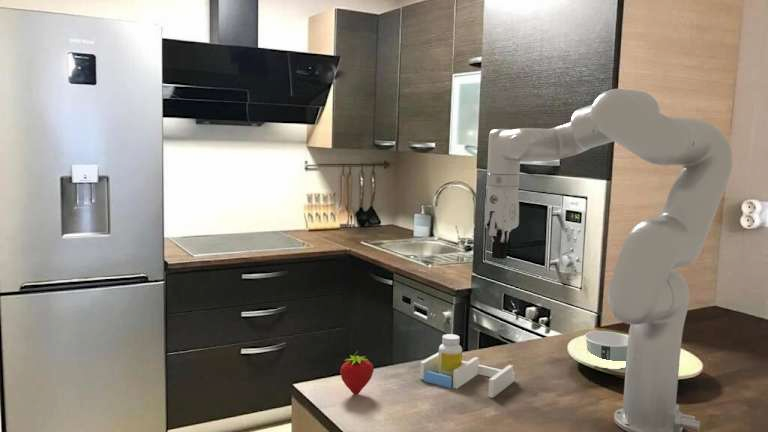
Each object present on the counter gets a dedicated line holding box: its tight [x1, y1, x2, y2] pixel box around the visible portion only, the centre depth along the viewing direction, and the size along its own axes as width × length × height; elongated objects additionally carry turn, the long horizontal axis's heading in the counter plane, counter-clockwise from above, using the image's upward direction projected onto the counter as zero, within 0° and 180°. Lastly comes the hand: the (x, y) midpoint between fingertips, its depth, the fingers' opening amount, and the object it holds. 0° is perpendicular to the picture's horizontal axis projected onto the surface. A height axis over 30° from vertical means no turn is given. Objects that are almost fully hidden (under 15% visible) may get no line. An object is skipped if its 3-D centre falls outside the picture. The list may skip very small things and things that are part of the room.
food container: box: [583, 330, 628, 361], centre depth 162 cm, size 12×12×6 cm
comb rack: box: [419, 351, 516, 399], centre depth 148 cm, size 18×13×4 cm
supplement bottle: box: [437, 333, 463, 382], centre depth 150 cm, size 5×5×10 cm
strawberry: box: [339, 350, 375, 395], centre depth 139 cm, size 6×8×10 cm
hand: (499, 257), depth 155 cm, fingers closed
